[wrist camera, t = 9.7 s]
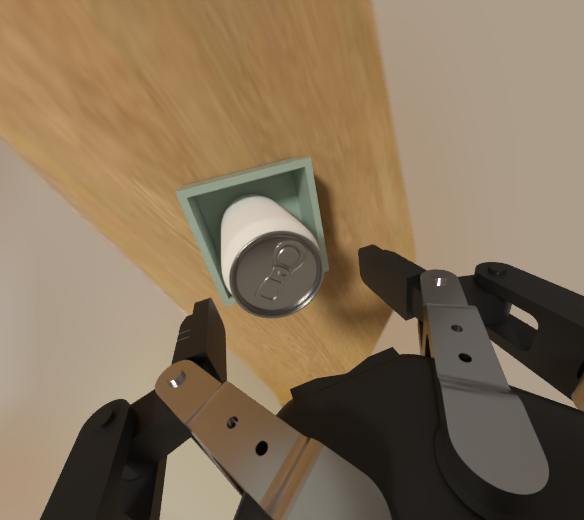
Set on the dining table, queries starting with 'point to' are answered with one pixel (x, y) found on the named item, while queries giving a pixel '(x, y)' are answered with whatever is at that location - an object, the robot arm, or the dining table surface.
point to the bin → (259, 180)
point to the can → (268, 258)
